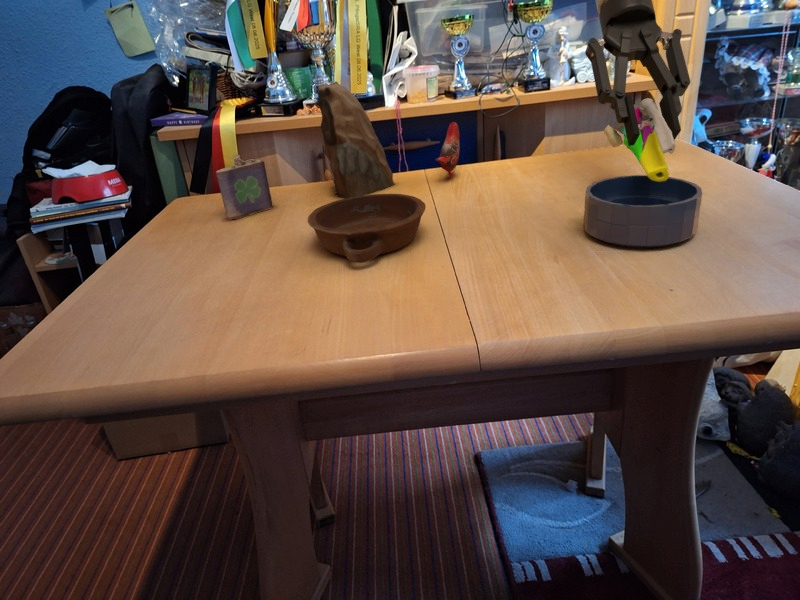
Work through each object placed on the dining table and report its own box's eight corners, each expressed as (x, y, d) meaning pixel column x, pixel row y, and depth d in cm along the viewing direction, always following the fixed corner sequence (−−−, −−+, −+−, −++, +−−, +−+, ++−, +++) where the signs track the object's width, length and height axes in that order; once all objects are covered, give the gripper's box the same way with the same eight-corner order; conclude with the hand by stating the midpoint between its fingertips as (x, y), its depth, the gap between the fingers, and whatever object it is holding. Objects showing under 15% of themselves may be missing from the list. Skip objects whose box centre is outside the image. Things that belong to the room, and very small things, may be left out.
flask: (230, 221, 101) (215, 162, 96) (224, 218, 103) (209, 160, 98) (275, 207, 106) (264, 150, 101) (268, 205, 108) (256, 149, 103)
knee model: (640, 216, 75) (610, 149, 95) (704, 191, 72) (660, 127, 92) (616, 158, 71) (591, 101, 91) (684, 129, 68) (642, 76, 88)
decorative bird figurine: (465, 168, 118) (462, 119, 113) (445, 193, 103) (442, 138, 99) (451, 168, 119) (449, 120, 114) (430, 193, 104) (426, 138, 99)
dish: (424, 212, 94) (421, 183, 92) (432, 264, 74) (430, 228, 72) (321, 223, 95) (316, 194, 93) (303, 276, 75) (296, 242, 73)
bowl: (651, 209, 85) (655, 170, 82) (720, 239, 72) (728, 194, 70) (565, 225, 82) (566, 185, 80) (621, 259, 70) (625, 213, 67)
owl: (347, 201, 105) (330, 88, 96) (309, 192, 113) (290, 88, 104) (397, 184, 112) (385, 77, 103) (357, 177, 120) (344, 78, 111)
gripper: (675, 19, 88) (708, 147, 81) (560, 32, 89) (583, 158, 82) (694, -22, 81) (733, 114, 74) (569, -7, 82) (595, 128, 75)
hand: (654, 137), depth 78 cm, fingers closed on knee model, 5 cm apart
